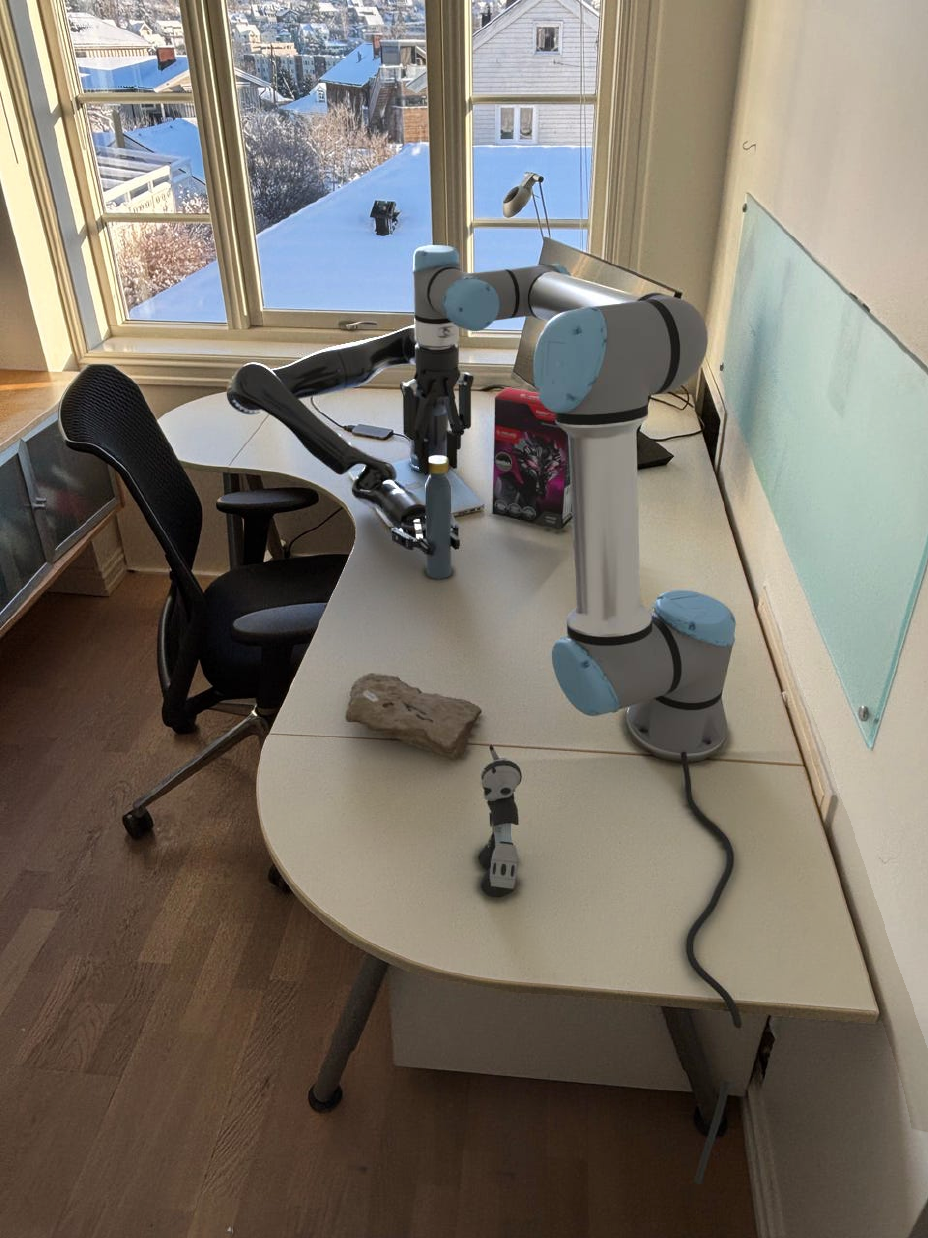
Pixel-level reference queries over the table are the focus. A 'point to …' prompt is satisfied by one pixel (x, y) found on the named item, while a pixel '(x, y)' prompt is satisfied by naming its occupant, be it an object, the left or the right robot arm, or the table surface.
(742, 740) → the table surface
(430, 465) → the cap
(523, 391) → the graphics card box
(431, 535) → the bottle
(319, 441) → the left robot arm
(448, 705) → the stone
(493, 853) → the robot
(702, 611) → the right robot arm
